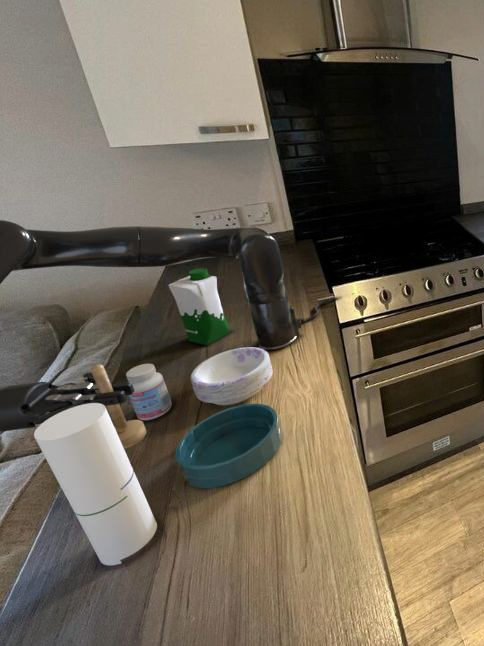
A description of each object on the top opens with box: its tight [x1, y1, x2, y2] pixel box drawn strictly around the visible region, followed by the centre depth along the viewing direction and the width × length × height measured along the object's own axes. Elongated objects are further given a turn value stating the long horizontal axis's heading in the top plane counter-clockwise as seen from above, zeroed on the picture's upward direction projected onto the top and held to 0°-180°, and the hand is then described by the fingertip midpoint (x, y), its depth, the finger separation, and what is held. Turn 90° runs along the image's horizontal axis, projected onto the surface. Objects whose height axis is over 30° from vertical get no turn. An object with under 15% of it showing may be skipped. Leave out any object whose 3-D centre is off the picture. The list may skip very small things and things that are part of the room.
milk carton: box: [167, 267, 231, 346], centre depth 122 cm, size 9×9×20 cm
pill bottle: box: [125, 363, 173, 421], centre depth 96 cm, size 6×6×11 cm
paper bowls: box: [190, 346, 274, 406], centre depth 102 cm, size 15×15×8 cm
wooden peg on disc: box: [90, 363, 147, 450], centre depth 79 cm, size 6×6×17 cm
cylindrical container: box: [33, 403, 158, 566], centre depth 66 cm, size 7×7×25 cm
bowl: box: [174, 403, 283, 489], centre depth 86 cm, size 16×16×6 cm
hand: (128, 392), depth 79 cm, fingers closed on wooden peg on disc
